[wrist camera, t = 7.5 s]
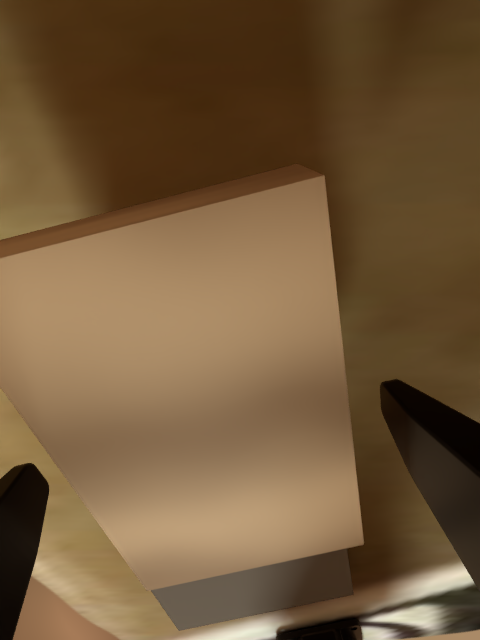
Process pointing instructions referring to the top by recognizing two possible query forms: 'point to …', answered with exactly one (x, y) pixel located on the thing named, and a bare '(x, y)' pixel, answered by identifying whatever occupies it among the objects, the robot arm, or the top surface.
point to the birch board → (191, 374)
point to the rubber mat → (257, 590)
